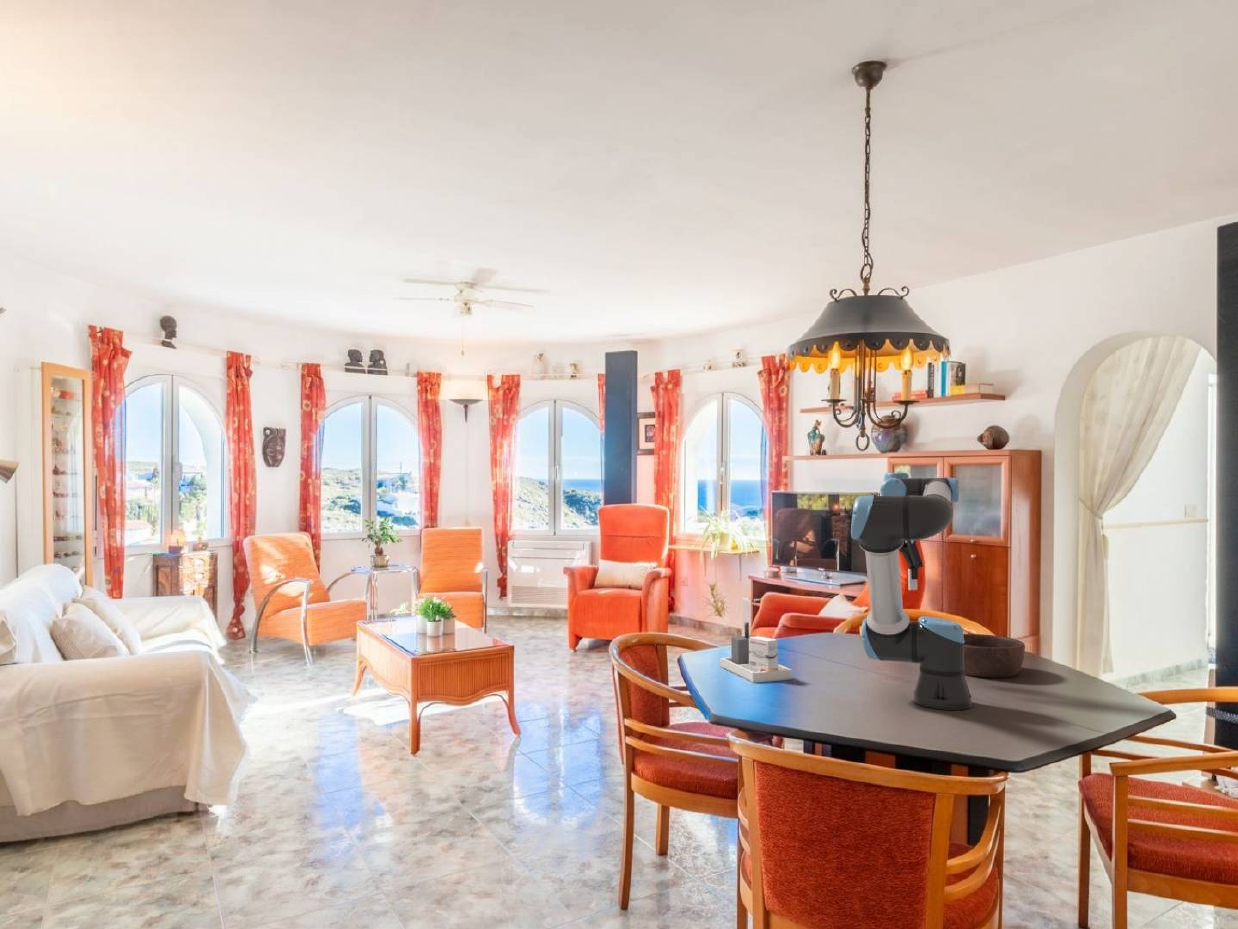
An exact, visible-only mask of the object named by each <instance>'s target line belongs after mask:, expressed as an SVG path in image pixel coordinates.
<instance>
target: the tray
mask: <svg viewBox="0 0 1238 929" xmlns="http://www.w3.org/2000/svg"><path fill="white" fill-rule="evenodd" d="M719 660H720V661H719V664H720V665H719V666H720V667H719V668H721V669H723V670H725V671H727V672H730V673H731V674H734V675H736V676H738V677H740V678H741V679H744V680H745V681H746V680H747V681H749V682H750V683H764V682H765V683H767V682H777V681H778V682H779V681H787V680H789V681H790V680H793V669H791V668H789V667H787V666H785V665H782V664H780V663H778V670H777V669H774V670H765V671H762V672H753V671H750V670H749V664H741V665H737V664H735V663H733V662H732V656H731V657H730V656H729V657H720V658H719Z"/></svg>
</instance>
